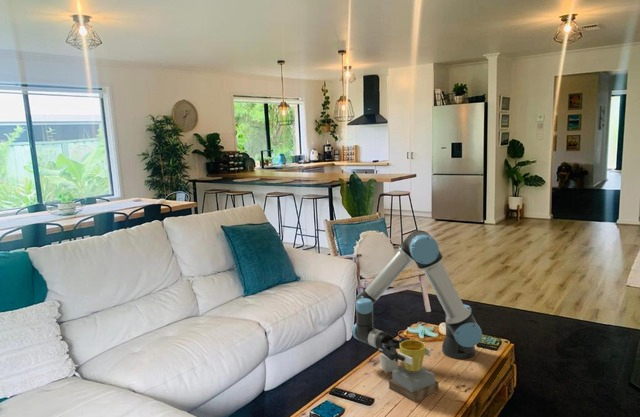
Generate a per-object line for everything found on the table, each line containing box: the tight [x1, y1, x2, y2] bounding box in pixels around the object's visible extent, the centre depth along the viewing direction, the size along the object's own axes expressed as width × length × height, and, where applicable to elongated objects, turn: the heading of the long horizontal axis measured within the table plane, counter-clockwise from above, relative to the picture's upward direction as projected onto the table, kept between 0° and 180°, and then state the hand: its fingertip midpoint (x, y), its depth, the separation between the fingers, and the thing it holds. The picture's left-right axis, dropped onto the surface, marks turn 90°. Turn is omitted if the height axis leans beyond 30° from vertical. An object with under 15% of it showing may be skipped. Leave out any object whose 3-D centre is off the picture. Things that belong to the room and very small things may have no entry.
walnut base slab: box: [388, 378, 439, 403], centre depth 188 cm, size 14×14×4 cm
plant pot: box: [399, 339, 427, 371], centre depth 186 cm, size 10×10×10 cm
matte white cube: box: [380, 353, 399, 373], centre depth 206 cm, size 6×6×6 cm
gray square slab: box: [391, 366, 436, 393], centre depth 187 cm, size 12×12×4 cm
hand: (421, 357), depth 182 cm, fingers closed on plant pot, 10 cm apart
